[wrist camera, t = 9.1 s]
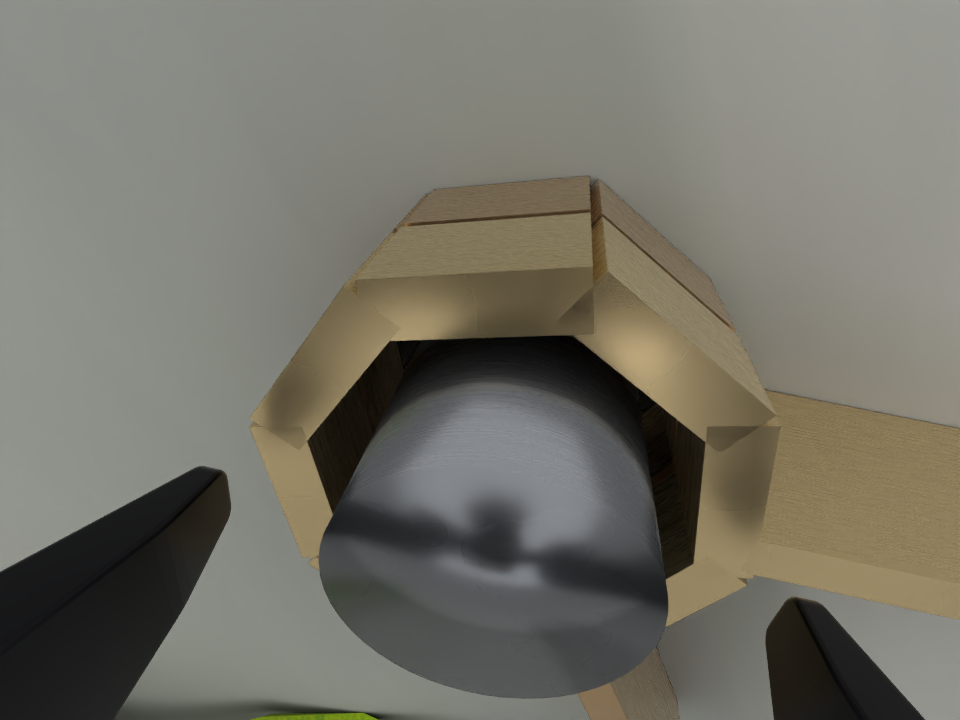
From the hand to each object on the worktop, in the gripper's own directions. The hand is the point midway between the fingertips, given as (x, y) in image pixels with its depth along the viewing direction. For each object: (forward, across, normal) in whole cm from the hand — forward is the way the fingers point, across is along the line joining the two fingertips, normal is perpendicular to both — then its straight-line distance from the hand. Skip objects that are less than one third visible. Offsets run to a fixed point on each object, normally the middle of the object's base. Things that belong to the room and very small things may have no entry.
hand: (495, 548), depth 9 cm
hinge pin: (+6, 0, 0) cm, 6 cm away
